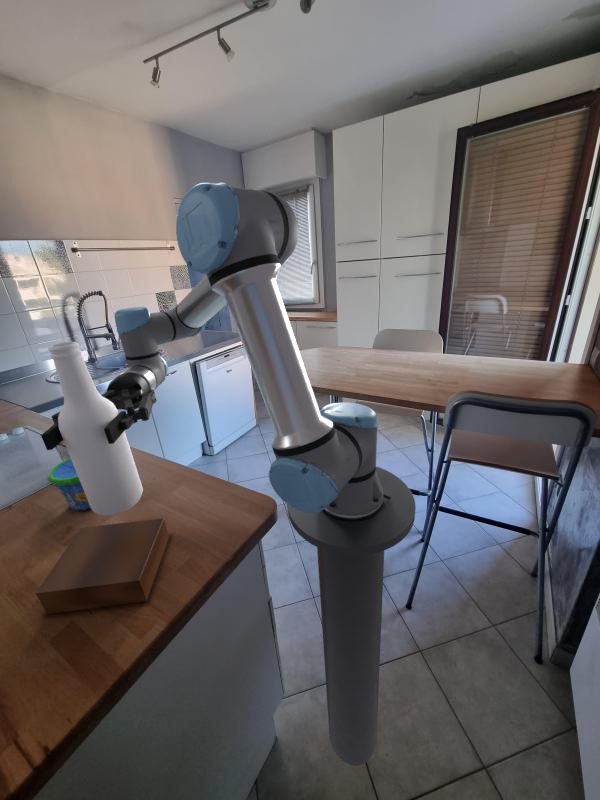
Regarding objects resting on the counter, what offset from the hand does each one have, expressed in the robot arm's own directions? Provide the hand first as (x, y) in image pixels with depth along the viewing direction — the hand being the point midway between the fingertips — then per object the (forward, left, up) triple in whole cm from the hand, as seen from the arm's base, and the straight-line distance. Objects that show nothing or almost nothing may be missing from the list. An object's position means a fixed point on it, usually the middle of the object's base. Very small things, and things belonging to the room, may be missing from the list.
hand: (77, 439), depth 52 cm
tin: (+26, -37, -27) cm, 53 cm away
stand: (+1, +1, -27) cm, 27 cm away
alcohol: (0, -5, -16) cm, 17 cm away
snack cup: (+16, -21, -27) cm, 38 cm away
